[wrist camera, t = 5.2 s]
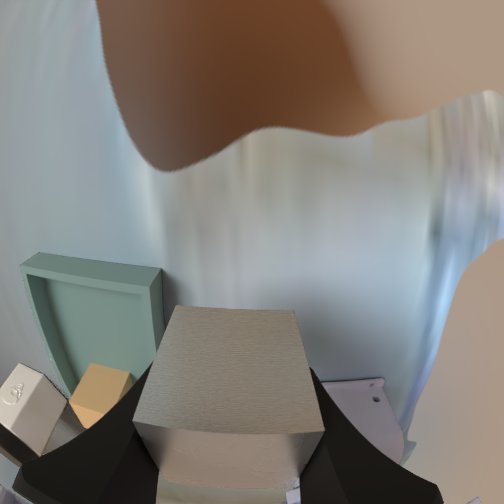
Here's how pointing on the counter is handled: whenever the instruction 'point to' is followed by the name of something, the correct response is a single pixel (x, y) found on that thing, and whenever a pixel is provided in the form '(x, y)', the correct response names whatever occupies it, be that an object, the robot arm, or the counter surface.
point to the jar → (28, 414)
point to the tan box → (99, 392)
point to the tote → (95, 314)
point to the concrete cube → (230, 400)
